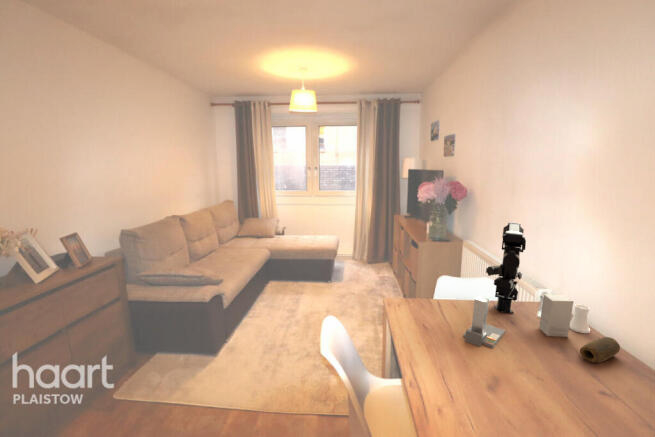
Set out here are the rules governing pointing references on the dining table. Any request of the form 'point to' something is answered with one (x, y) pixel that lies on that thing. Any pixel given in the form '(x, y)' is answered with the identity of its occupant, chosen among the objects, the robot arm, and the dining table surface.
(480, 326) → the bar
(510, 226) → the robot arm
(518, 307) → the dining table surface
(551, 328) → the skincare box
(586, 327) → the vase
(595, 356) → the brown hollow cylinder
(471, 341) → the gauge board
